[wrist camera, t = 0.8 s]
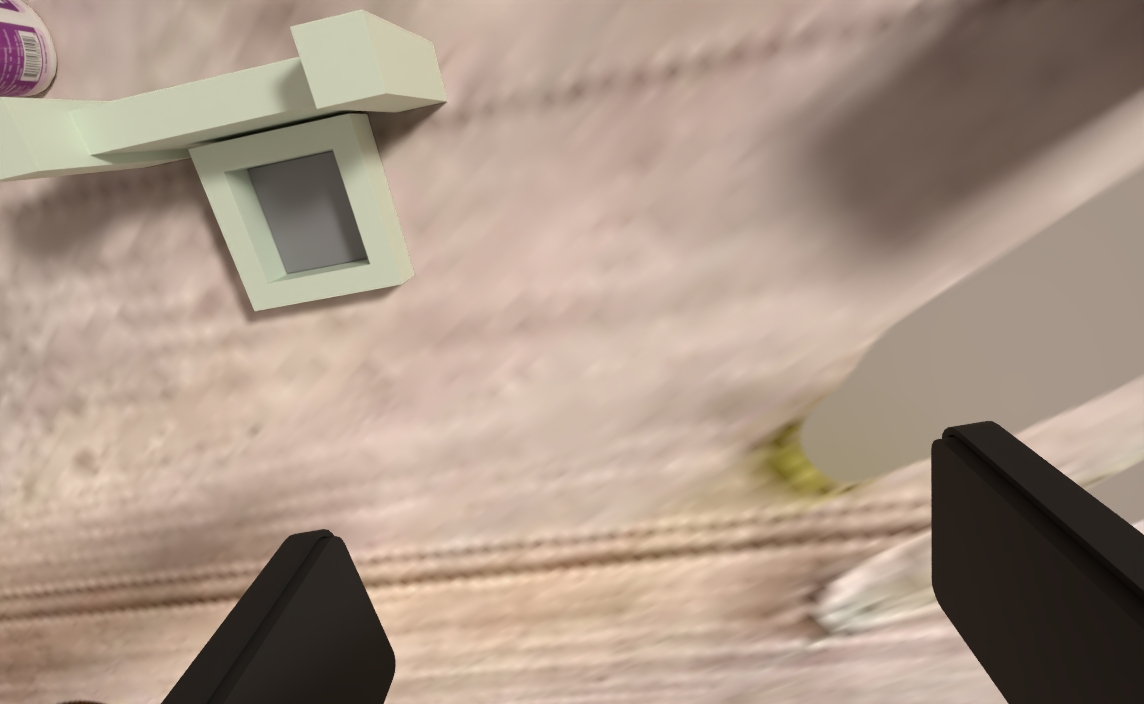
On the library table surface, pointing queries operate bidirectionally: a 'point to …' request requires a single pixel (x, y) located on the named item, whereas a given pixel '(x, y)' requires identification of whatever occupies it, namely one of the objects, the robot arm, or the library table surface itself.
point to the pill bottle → (24, 51)
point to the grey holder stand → (263, 153)
